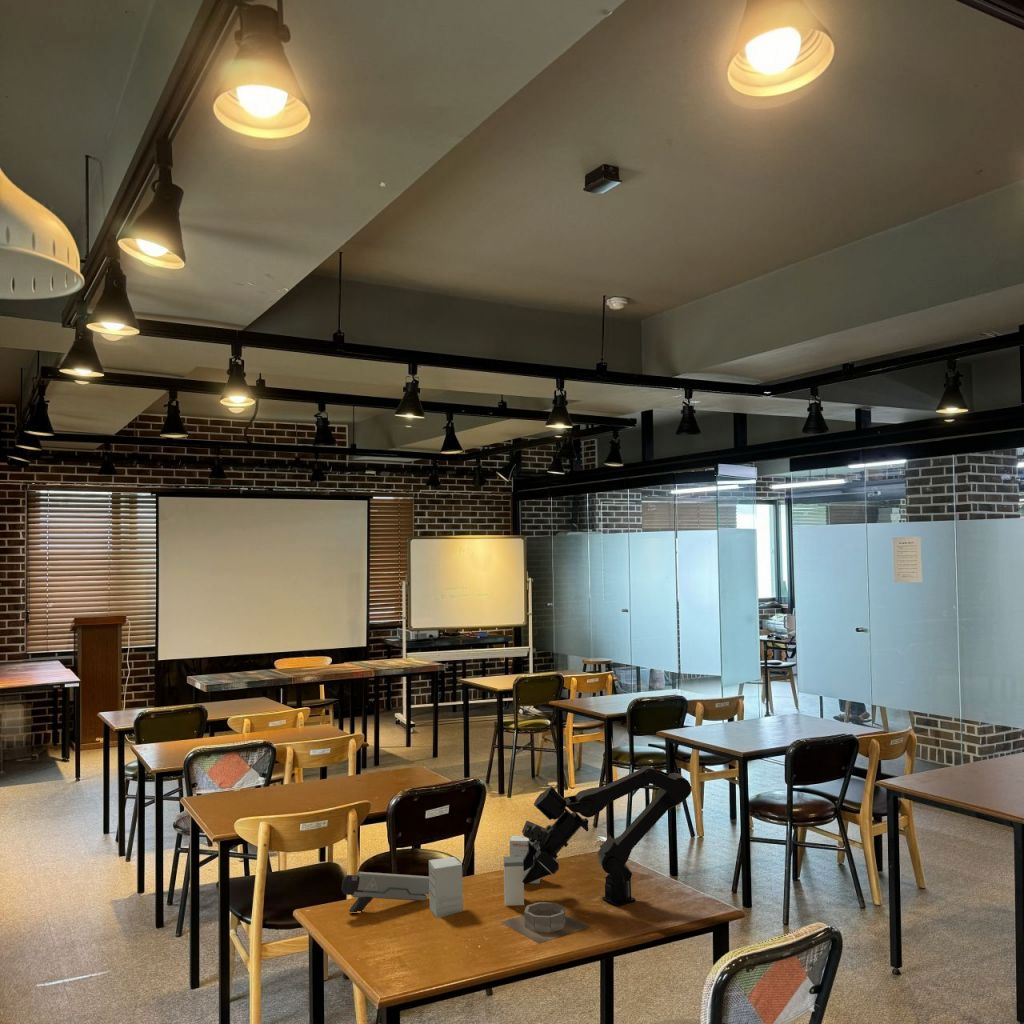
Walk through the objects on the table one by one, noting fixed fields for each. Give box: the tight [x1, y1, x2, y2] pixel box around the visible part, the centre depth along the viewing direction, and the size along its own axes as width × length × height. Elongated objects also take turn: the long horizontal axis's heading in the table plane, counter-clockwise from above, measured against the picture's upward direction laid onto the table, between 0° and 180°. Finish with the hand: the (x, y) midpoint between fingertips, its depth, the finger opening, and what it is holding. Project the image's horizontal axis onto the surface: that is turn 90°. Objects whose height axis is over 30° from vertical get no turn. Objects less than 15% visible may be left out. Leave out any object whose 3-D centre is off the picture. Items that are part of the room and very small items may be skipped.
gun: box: [341, 871, 429, 913], centre depth 232 cm, size 2×25×10 cm, turn 117°
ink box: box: [509, 835, 542, 884], centre depth 250 cm, size 9×5×12 cm, turn 84°
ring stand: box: [499, 901, 592, 944], centre depth 215 cm, size 16×16×5 cm
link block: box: [503, 856, 525, 907], centre depth 231 cm, size 5×5×12 cm
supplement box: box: [428, 856, 464, 919], centre depth 228 cm, size 7×7×13 cm
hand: (521, 877), depth 231 cm, fingers open, 9 cm apart
